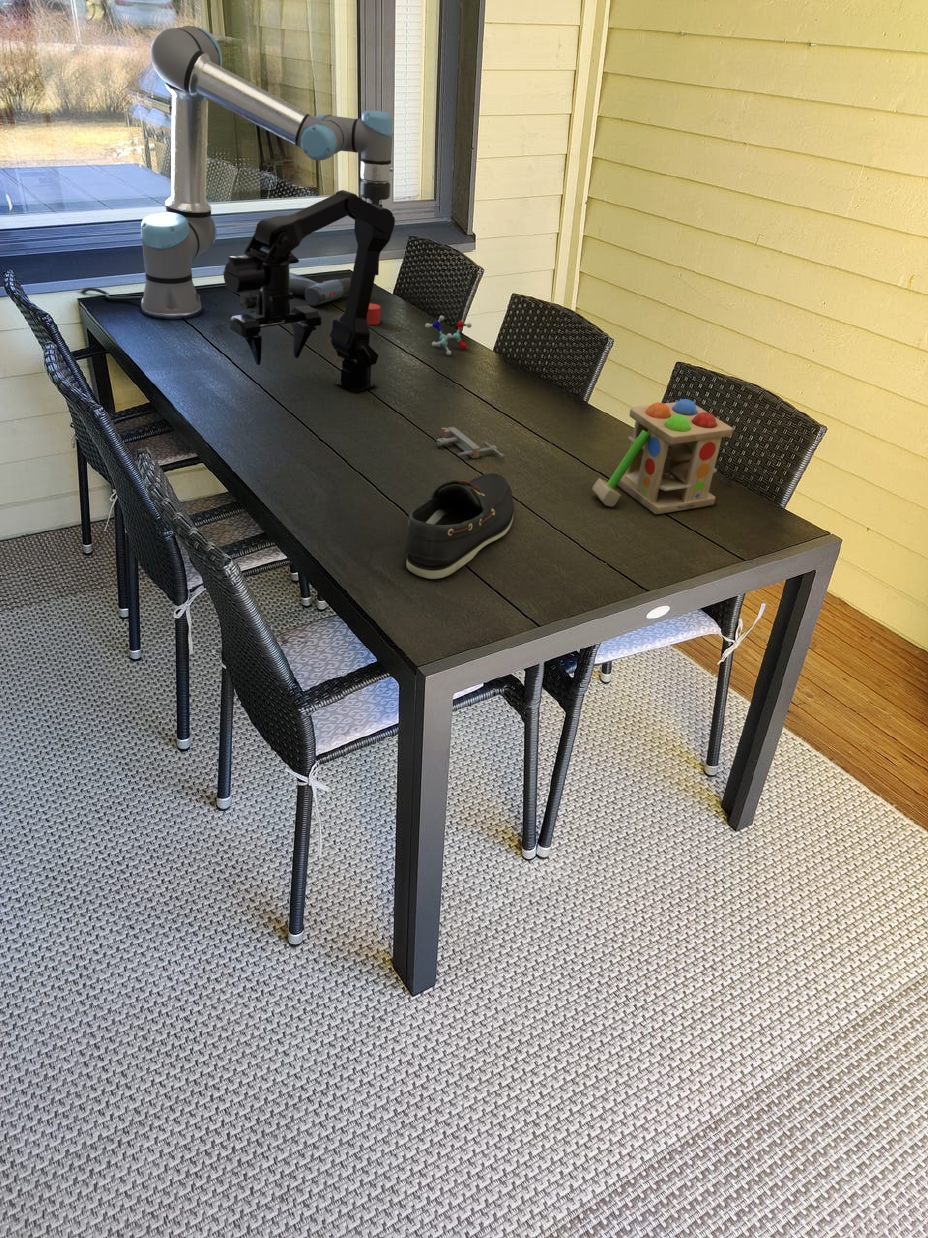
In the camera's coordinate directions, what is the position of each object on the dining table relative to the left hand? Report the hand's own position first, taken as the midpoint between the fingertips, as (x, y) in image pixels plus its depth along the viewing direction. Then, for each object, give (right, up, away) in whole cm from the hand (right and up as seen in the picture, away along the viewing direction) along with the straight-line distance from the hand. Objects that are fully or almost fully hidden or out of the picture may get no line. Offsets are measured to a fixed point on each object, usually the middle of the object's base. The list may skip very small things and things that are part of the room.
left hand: (372, 267), depth 258 cm
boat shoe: (+23, -78, -85) cm, 118 cm away
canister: (-1, -12, +8) cm, 14 cm away
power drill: (-20, +1, +24) cm, 31 cm away
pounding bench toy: (+60, -69, -66) cm, 112 cm away
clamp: (+24, -58, -56) cm, 84 cm away
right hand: (-16, -37, -49) cm, 64 cm away
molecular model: (+19, -23, -5) cm, 30 cm away
